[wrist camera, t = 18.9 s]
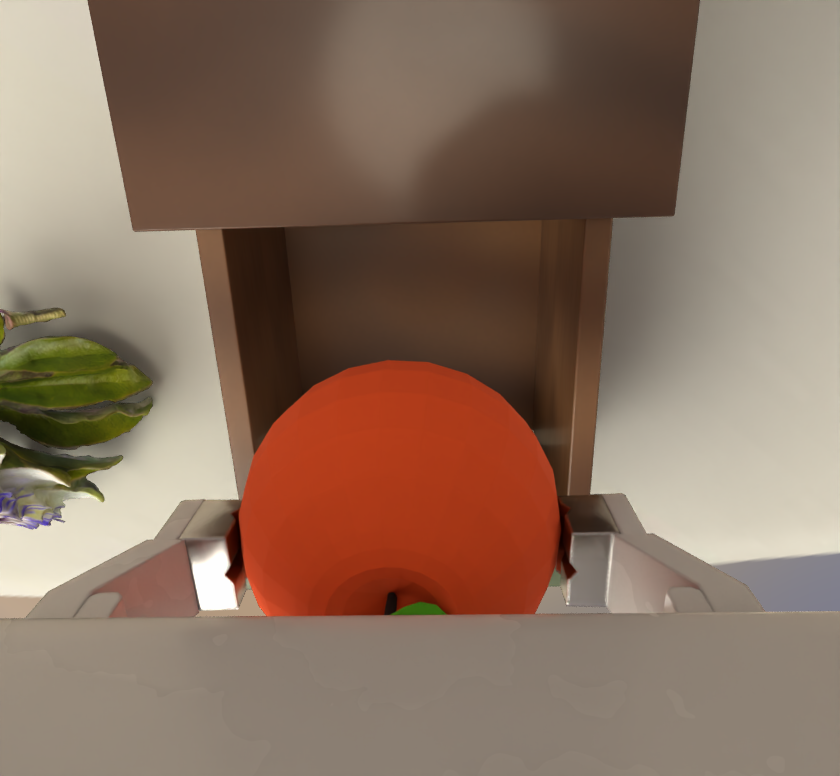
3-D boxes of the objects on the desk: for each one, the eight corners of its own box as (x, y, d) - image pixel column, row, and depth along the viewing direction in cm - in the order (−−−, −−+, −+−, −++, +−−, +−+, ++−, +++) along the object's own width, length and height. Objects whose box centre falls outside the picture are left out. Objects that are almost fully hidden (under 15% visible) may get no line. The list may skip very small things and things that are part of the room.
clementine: (615, 454, 17) (732, 656, 10) (449, 605, 19) (457, 855, 12) (388, 265, 15) (352, 363, 8) (232, 456, 17) (105, 654, 11)
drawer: (552, 562, 32) (592, 704, 24) (297, 565, 33) (252, 706, 24) (582, 63, 24) (660, 21, 15) (236, 76, 24) (134, 42, 16)
